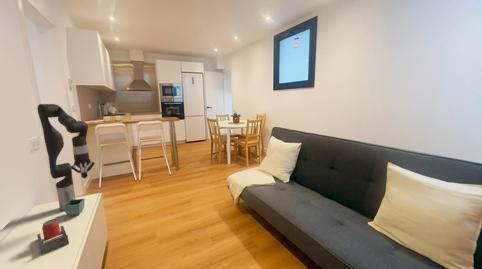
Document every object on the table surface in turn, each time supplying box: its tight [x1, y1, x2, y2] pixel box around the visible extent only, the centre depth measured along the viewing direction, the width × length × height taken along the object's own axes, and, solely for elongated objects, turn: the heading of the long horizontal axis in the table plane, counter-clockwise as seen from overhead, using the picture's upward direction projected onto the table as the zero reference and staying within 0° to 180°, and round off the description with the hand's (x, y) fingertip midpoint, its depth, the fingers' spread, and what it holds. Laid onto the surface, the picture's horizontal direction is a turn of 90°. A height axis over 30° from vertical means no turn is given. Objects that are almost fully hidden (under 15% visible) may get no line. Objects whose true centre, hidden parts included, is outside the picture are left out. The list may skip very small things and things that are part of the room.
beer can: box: [41, 218, 62, 241], centre depth 108 cm, size 7×7×12 cm
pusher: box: [42, 233, 63, 245], centre depth 106 cm, size 1×8×4 cm, turn 139°
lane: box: [37, 225, 70, 256], centre depth 109 cm, size 18×11×5 cm, turn 49°
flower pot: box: [63, 198, 86, 217], centre depth 135 cm, size 9×9×9 cm
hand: (84, 177), depth 130 cm, fingers closed
